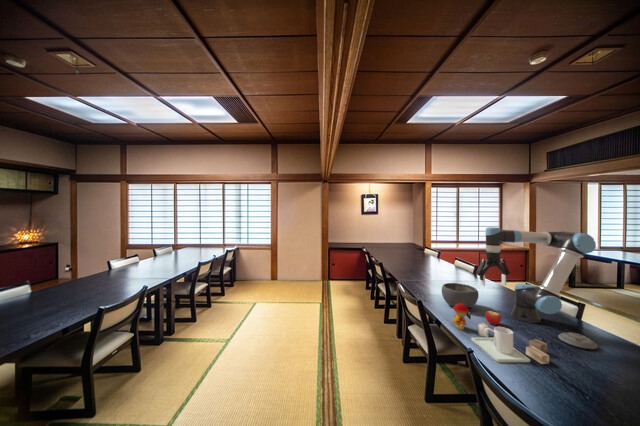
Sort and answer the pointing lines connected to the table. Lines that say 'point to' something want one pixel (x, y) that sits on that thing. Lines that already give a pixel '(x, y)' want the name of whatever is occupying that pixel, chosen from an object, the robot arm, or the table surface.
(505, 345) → the mug
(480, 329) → the round-ended white cylinder
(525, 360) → the tray
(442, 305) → the table surface
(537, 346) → the walnut cube
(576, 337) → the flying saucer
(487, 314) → the apple
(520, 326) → the table surface
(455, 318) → the toy
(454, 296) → the bowl
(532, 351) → the maple block
